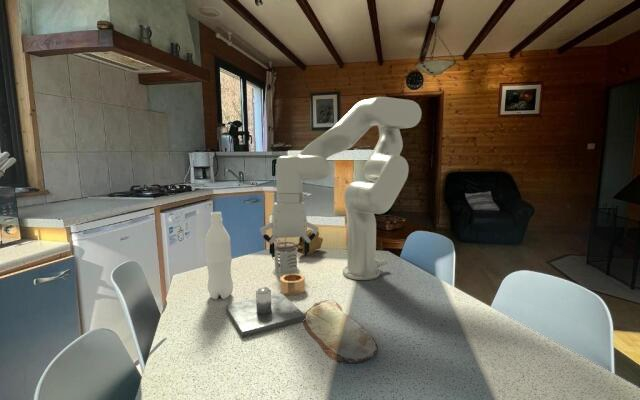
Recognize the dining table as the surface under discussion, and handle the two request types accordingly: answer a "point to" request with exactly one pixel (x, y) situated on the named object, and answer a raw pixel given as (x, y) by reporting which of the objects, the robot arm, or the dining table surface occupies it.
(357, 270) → the robot arm
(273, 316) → the block
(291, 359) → the dining table surface
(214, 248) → the water bottle
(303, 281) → the copper ring
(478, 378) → the dining table surface
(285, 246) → the french press
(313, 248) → the wooden carving
